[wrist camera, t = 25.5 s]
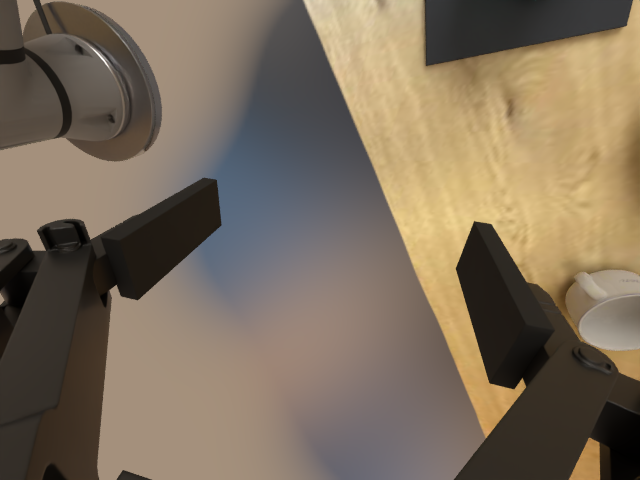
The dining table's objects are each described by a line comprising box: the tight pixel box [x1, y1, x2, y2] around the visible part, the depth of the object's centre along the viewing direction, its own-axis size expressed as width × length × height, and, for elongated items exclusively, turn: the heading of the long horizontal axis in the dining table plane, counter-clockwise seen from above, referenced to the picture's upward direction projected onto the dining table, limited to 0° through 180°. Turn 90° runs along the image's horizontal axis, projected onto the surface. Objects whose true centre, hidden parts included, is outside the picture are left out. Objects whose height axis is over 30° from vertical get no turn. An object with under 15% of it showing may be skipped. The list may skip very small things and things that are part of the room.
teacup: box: [565, 270, 640, 351], centre depth 43 cm, size 14×11×8 cm
